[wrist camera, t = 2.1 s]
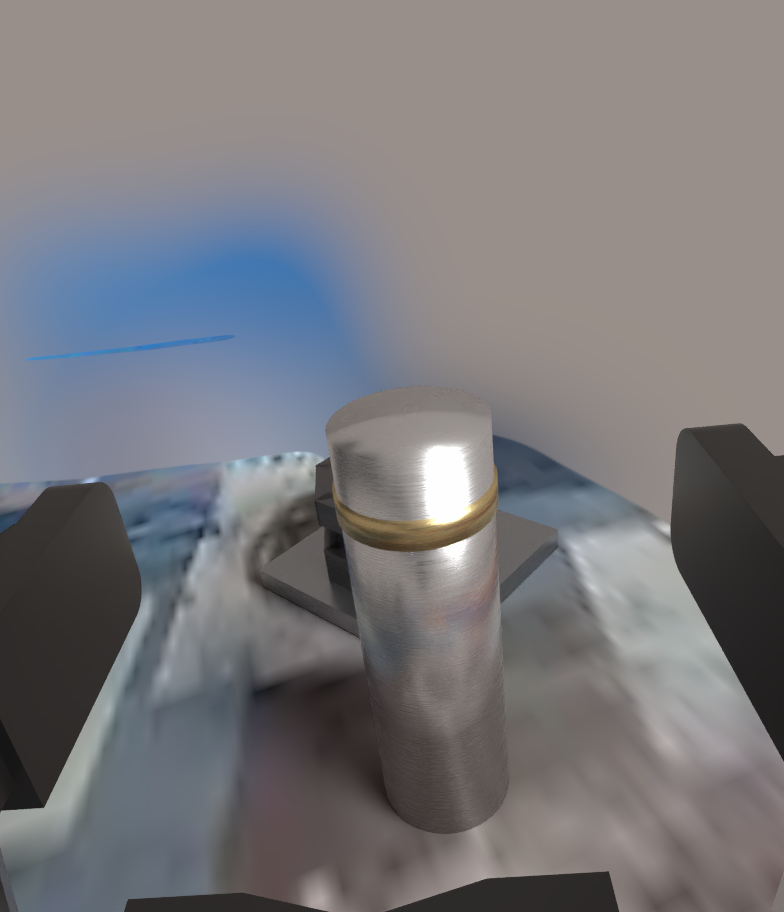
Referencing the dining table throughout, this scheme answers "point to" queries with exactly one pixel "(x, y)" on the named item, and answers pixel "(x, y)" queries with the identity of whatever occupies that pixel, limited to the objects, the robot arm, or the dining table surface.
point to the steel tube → (426, 596)
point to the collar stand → (326, 569)
